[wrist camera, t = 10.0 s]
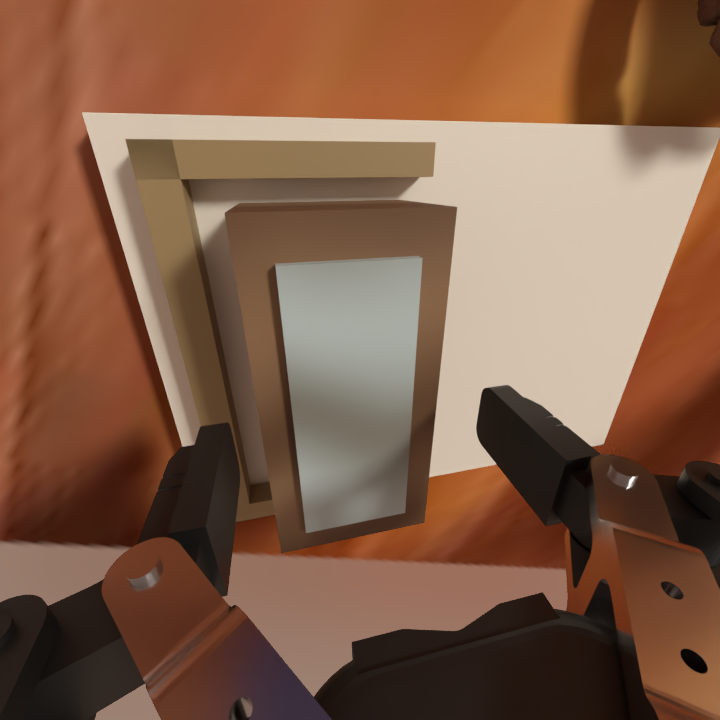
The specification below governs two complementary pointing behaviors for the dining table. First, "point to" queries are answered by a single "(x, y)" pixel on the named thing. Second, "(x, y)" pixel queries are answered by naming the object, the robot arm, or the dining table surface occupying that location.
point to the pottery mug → (710, 20)
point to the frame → (344, 356)
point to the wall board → (469, 258)
